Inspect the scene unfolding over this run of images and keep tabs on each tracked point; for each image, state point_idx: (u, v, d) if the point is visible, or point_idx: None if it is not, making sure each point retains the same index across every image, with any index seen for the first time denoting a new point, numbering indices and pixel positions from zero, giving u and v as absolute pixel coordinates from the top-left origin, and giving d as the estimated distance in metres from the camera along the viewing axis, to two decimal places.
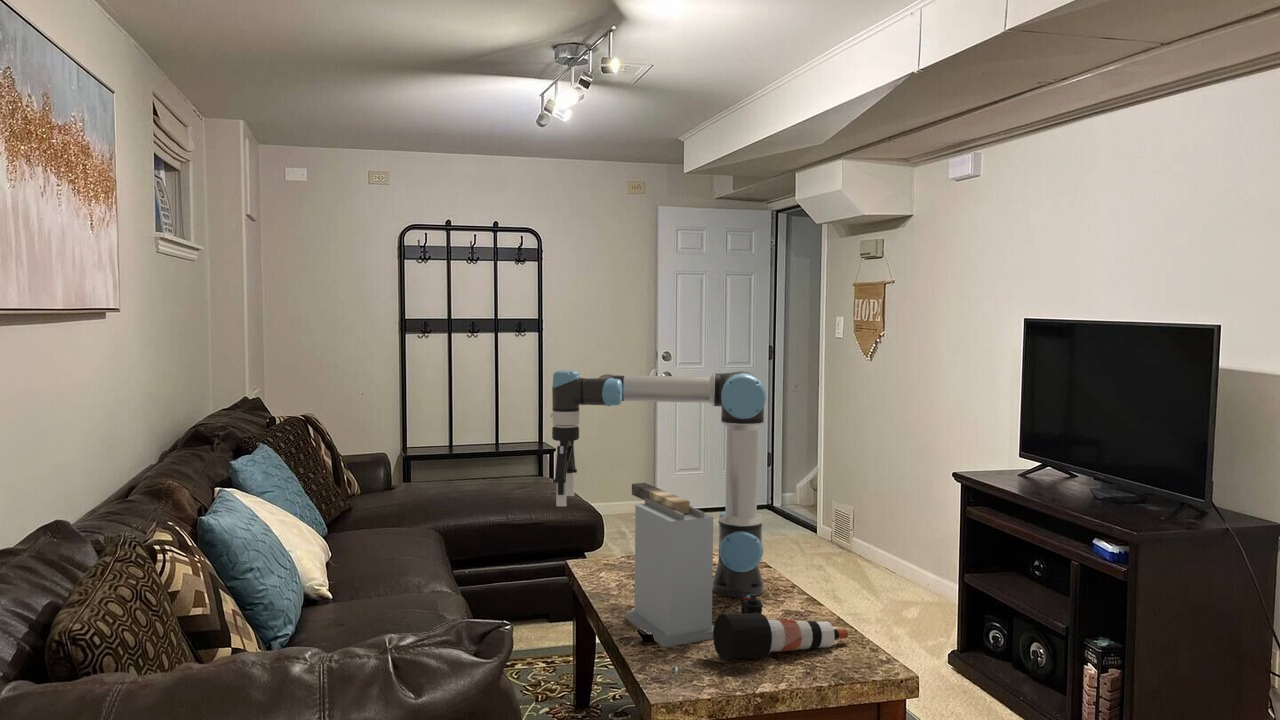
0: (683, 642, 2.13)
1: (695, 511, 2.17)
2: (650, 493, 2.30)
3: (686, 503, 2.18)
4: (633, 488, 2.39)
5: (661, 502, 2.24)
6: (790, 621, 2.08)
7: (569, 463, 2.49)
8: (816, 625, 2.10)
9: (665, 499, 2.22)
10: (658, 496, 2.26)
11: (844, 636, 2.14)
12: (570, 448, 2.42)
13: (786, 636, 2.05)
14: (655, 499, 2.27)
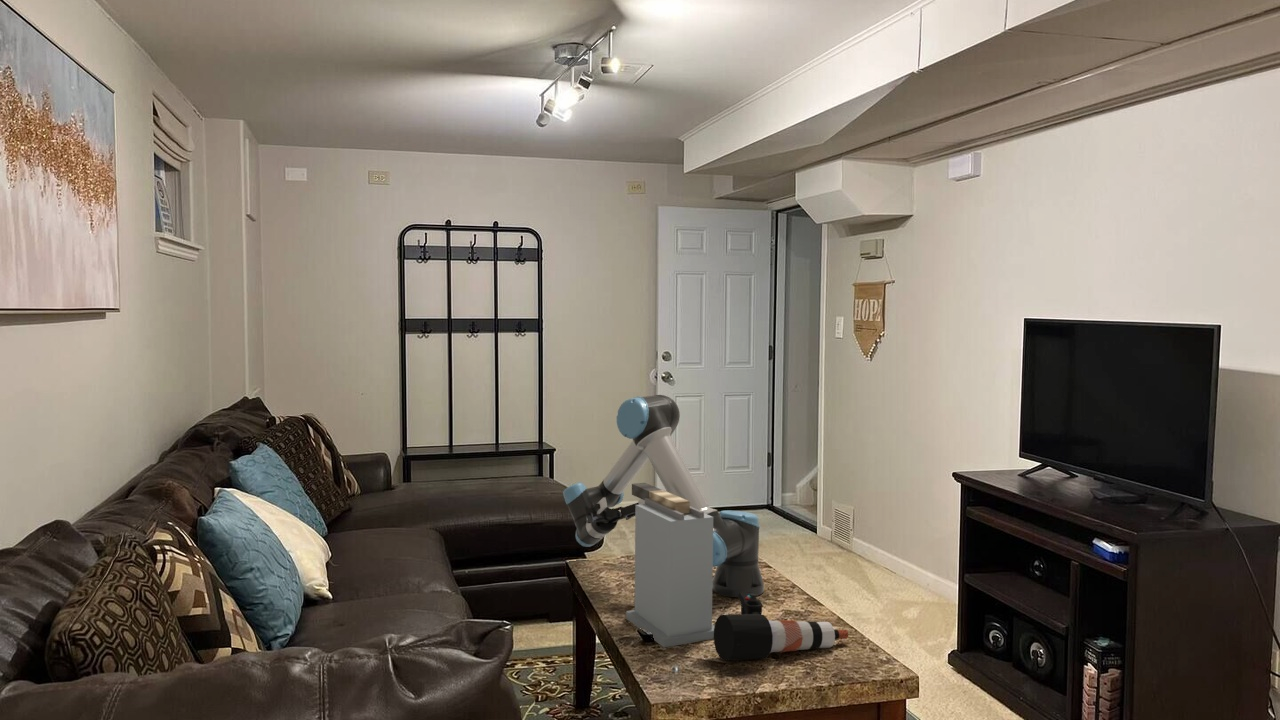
0: (683, 642, 2.13)
1: (695, 511, 2.17)
2: (650, 493, 2.30)
3: (686, 503, 2.18)
4: (633, 488, 2.39)
5: (661, 502, 2.24)
6: (790, 622, 2.08)
7: (629, 508, 2.58)
8: (816, 625, 2.10)
9: (665, 499, 2.22)
10: (658, 496, 2.26)
11: (844, 636, 2.13)
12: None
13: (787, 637, 2.04)
14: (655, 499, 2.27)
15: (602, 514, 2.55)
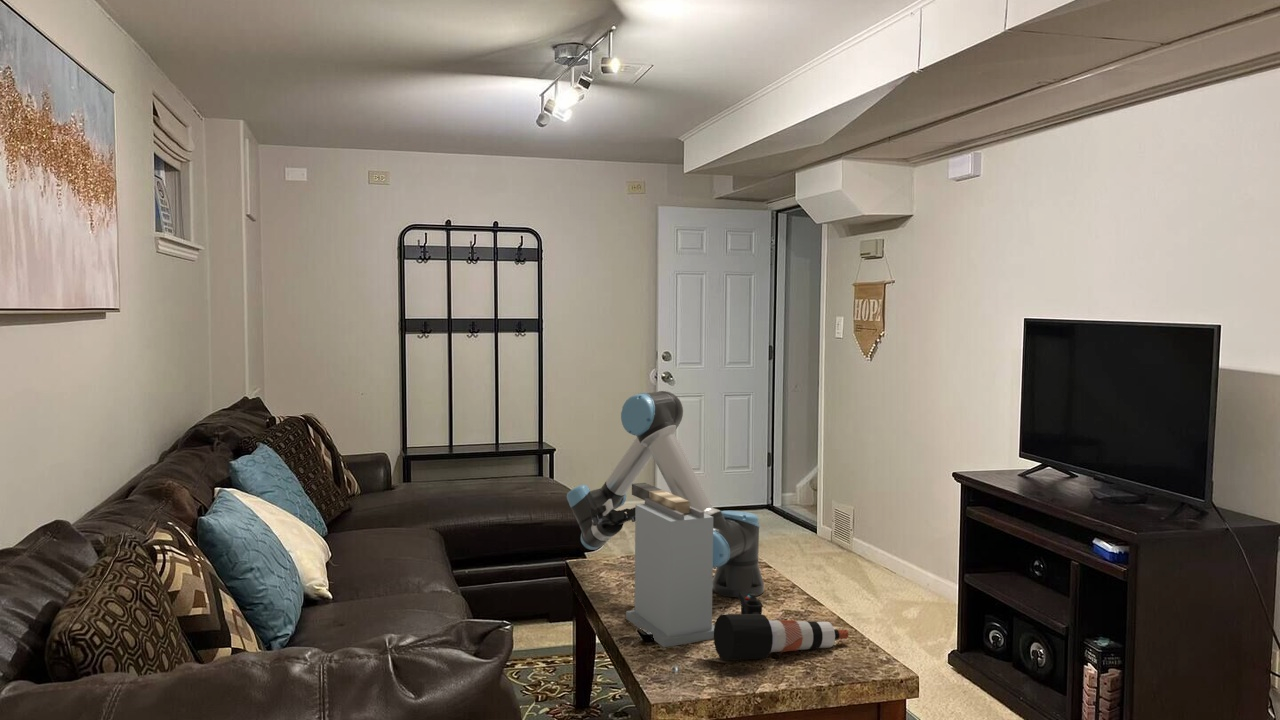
0: (683, 642, 2.13)
1: (695, 511, 2.17)
2: (650, 493, 2.30)
3: (686, 503, 2.18)
4: (633, 488, 2.39)
5: (661, 502, 2.24)
6: (790, 622, 2.08)
7: None
8: (817, 625, 2.10)
9: (665, 499, 2.22)
10: (658, 496, 2.26)
11: (844, 636, 2.13)
12: None
13: (787, 636, 2.04)
14: (655, 499, 2.27)
15: (608, 516, 2.51)
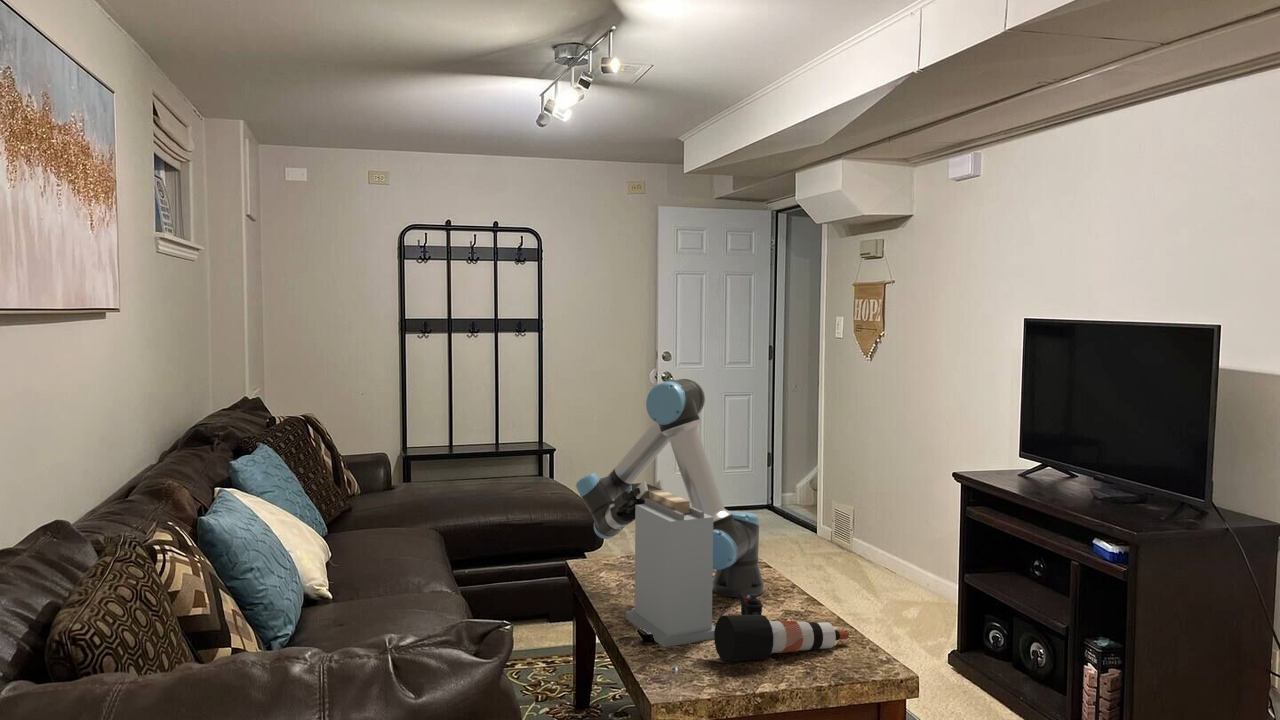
0: (683, 642, 2.13)
1: (695, 511, 2.17)
2: (650, 493, 2.30)
3: (686, 503, 2.18)
4: (633, 488, 2.39)
5: (661, 502, 2.24)
6: (791, 622, 2.08)
7: None
8: (817, 626, 2.09)
9: (665, 499, 2.22)
10: (658, 496, 2.26)
11: (845, 637, 2.13)
12: None
13: (787, 637, 2.04)
14: (655, 499, 2.27)
15: None
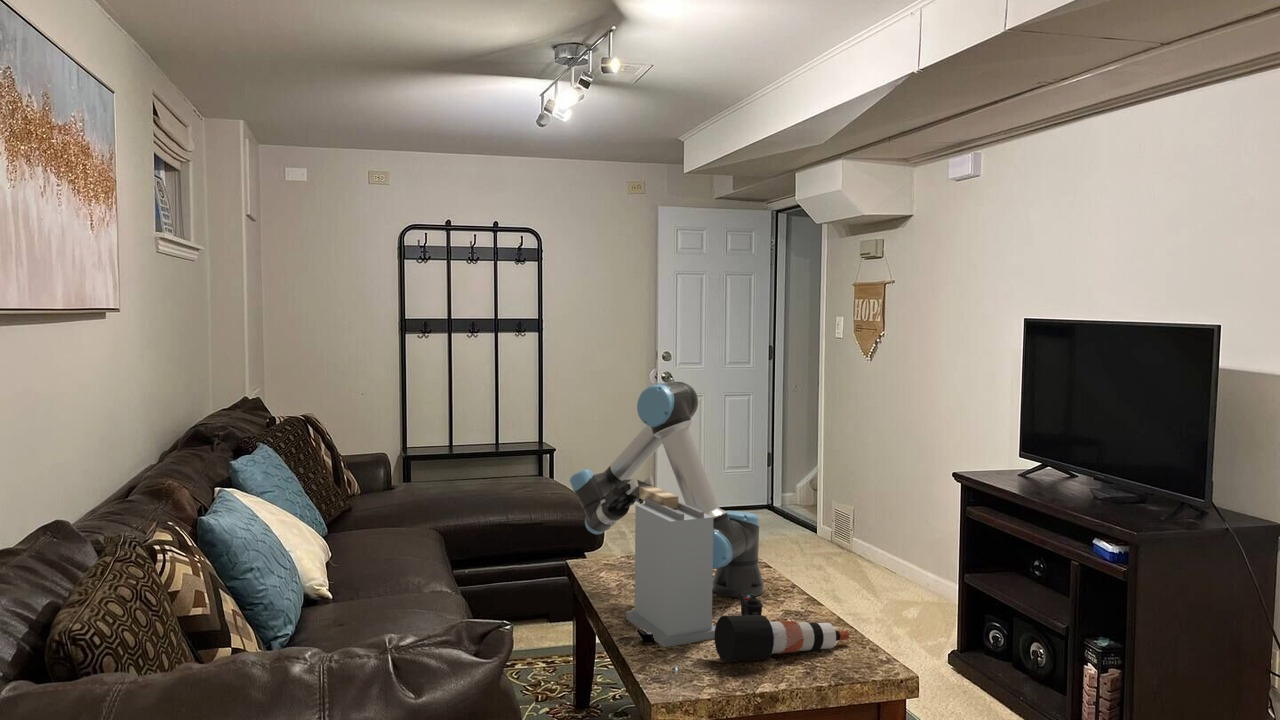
0: (683, 642, 2.13)
1: (695, 511, 2.17)
2: (640, 489, 2.35)
3: (675, 498, 2.24)
4: (624, 484, 2.45)
5: (651, 497, 2.29)
6: (791, 623, 2.07)
7: None
8: (818, 626, 2.09)
9: (654, 494, 2.27)
10: (648, 492, 2.31)
11: (845, 637, 2.13)
12: None
13: (788, 638, 2.04)
14: (645, 495, 2.33)
15: None
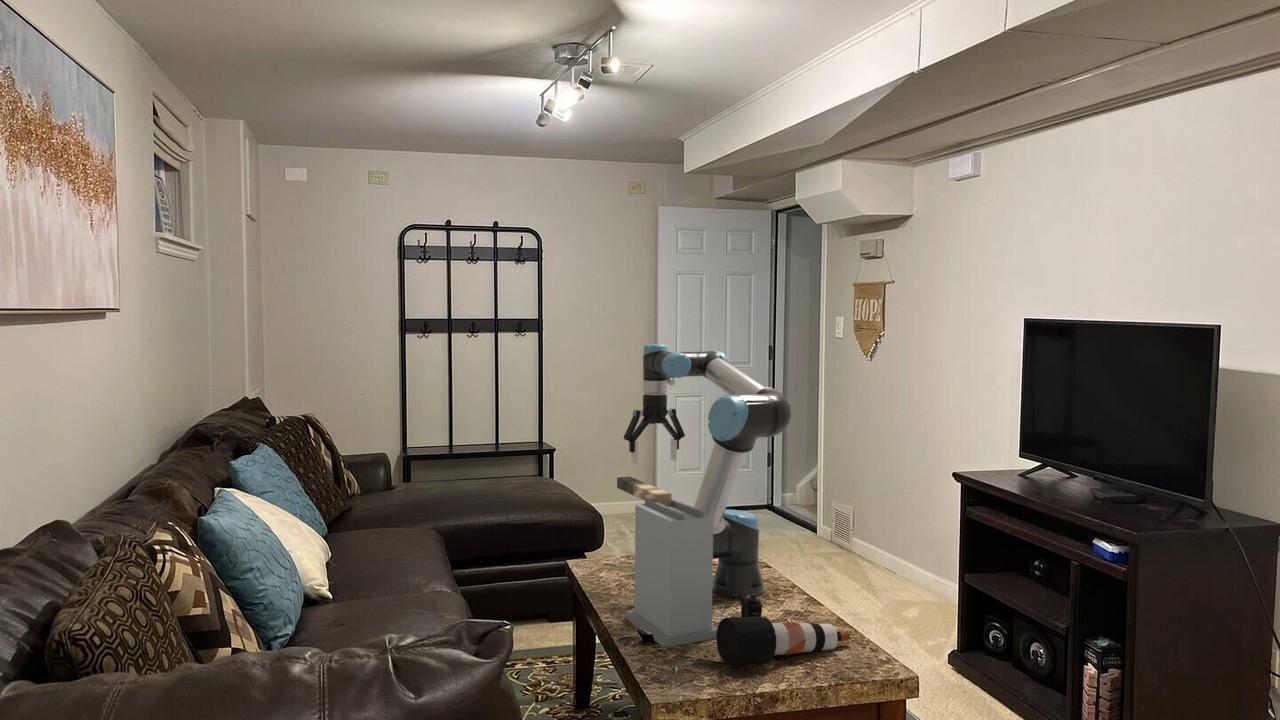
0: (683, 642, 2.13)
1: (695, 511, 2.17)
2: (634, 486, 2.39)
3: (668, 495, 2.27)
4: (618, 482, 2.48)
5: (644, 495, 2.33)
6: (793, 624, 2.06)
7: (668, 429, 2.73)
8: (819, 627, 2.08)
9: (648, 492, 2.31)
10: (641, 489, 2.35)
11: (846, 638, 2.12)
12: (652, 414, 2.69)
13: (790, 639, 2.03)
14: (639, 492, 2.36)
15: None
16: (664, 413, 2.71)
